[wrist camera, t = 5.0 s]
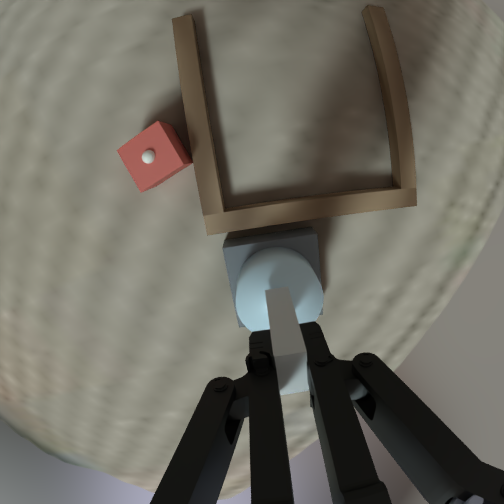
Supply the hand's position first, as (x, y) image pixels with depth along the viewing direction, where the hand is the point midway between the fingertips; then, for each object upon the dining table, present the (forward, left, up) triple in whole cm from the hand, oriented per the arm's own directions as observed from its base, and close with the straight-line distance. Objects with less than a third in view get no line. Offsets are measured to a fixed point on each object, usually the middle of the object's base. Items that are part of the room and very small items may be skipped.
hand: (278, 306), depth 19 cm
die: (-7, +11, -6) cm, 14 cm away
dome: (0, 0, -4) cm, 4 cm away
